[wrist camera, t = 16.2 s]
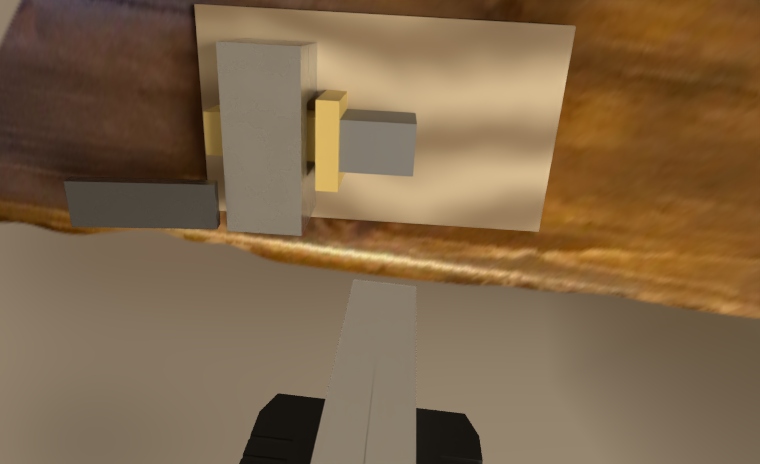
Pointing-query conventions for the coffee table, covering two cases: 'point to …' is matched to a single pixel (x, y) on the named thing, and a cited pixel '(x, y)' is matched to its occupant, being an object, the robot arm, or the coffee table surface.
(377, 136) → the grey block yellow flange
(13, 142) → the coffee table surface
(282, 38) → the base board
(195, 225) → the plate
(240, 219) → the block
